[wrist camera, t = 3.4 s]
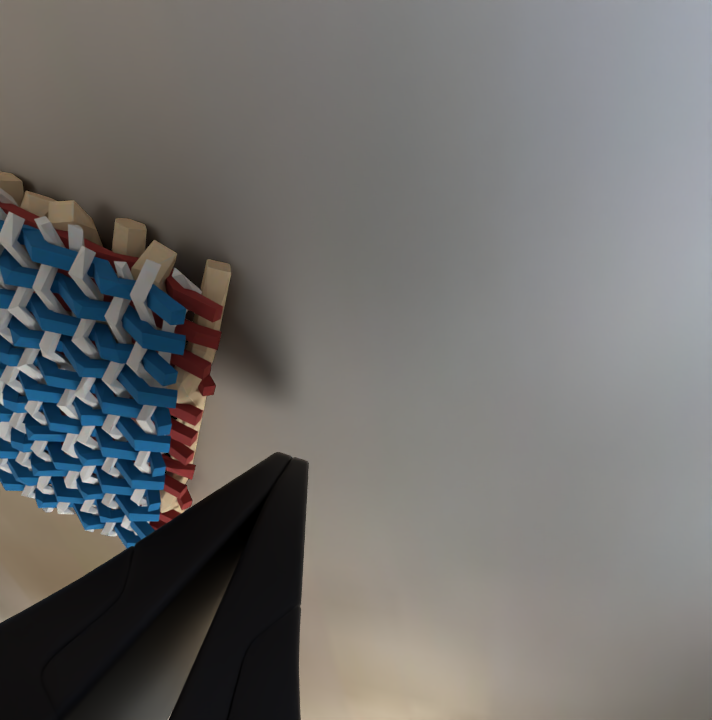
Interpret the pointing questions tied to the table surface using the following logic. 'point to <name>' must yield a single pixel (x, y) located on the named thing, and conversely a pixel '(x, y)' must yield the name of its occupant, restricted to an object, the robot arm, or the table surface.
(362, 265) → the table surface
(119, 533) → the woven mat
